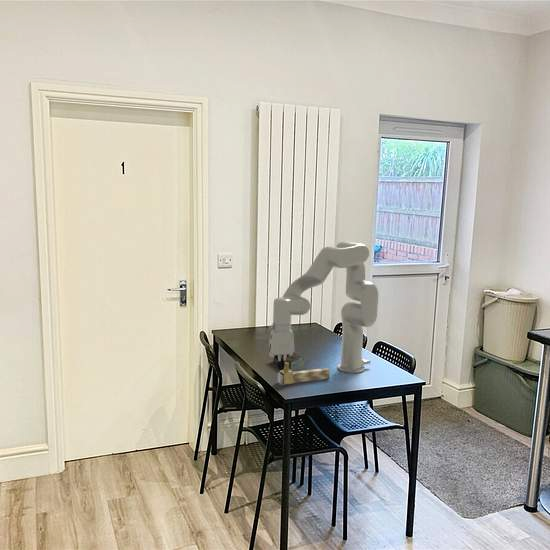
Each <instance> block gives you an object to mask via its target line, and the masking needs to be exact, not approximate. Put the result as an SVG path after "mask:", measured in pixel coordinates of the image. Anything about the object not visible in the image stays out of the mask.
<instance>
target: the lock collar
mask: <svg viewBox="0 0 550 550" xmlns="http://www.w3.org/2000/svg"><path fill="white" fill-rule="evenodd" d="M279 373H283V374H284V383H283V384H284V385H283V386H285V385H286V384H287V385H292V384H294V383H293V372H292V371H291V370H290V369H289V363H287V362H285V367H284V370H279Z"/></svg>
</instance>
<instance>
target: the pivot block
mask: <svg viewBox="0 0 550 550" xmlns="http://www.w3.org/2000/svg"><path fill="white" fill-rule="evenodd" d="M277 383H279V384H278V385H279V386H284V385H283V383H284V374H283V373H280V372H277Z"/></svg>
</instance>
